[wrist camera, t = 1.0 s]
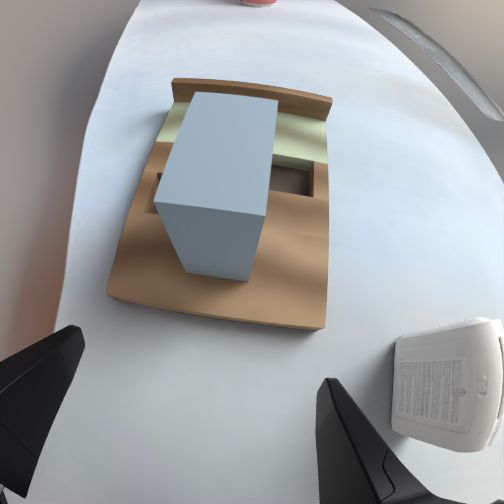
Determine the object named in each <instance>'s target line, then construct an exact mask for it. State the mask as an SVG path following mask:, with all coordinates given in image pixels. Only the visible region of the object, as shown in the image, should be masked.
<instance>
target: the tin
mask: <svg viewBox="0 0 504 504" xmlns="http://www.w3.org/2000/svg"><path fill="white" fill-rule="evenodd" d="M277 108H278V101H277V100H271V99H264V98H257V97H249V96H241V95H232V94H221V93H208V92H195V94H194V96H193V99H192V101H191V103H190V105H189V108H188V110H187V112H186V115H185V117H184V119H183V122H182V124H181V127H180V129H179V132H178V134H177V137H176V139H175V142H174V144H173V147H172V150H171V152H170V155H169V158H168V160H167V163H166V166H165V169H164V171H163V174H162V177H161V180H160V183H159V186H158V189H157V192H156V195H155V198H154V201H153V202H154V204H155V206H156V208H157V211H158V213H159V215H160V218H161V220H162V222H163V224H164V226H165V229H166V231H167V233H168V235H169V237H170V240H171V242H172V244H173V246H174V248H175V250H176V252H177V255H178V257H179V259H180V261H181V263H182V265H183V267H184V269H185V271H186V272H187V273H193V274H199V275H206V276H213V277H219V278H226V279H233V280H240V281H247V282H248V281H249V277H250V273H251V269H252V266H253V262H254V258H255V254H256V250H257V246H258V243H259V239H260V235H261V231H262V227H263V224H264V220H265V216H266V207H267V198H268V190H269V181H270V172H271V163H272V154H273V145H274V136H275V126H276V117H277Z"/></svg>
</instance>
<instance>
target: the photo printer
mask: <svg viewBox="0 0 504 504" xmlns="http://www.w3.org/2000/svg"><path fill="white" fill-rule="evenodd" d="M503 416H504V330H503V327H502V324H501V322H500V320H499V319H497V320H493V321H492V320H490V319H487V318H482V317H478V318H472V319H469V320H465V321H461V322H457V323H452V324H448V325H443V326H439V327H434V328H429V329H425V330H420V331H415V332H410V333H406V334H404V335H403V336H401V337H400V338H399V339H397V341H396V346H395V357H394V382H393V399H392V417H391V425H392V430H393V431H394V432H397V433H400V434H402V435H405V436H408V437H411V438H414V439H417V440H420V441H423V442H426V443H429V444H432V445H435V446H439V447H442V448H445V449H449V450H452V451H456V452H476V451H481V450H483V449H484V448H485V447H486V446H488V445H491V444H492V442H493V440H494V438H495V436H496V434H497V432H498V430H499V427H500V425H501V422H502V419H503Z"/></svg>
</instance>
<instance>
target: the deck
mask: <svg viewBox="0 0 504 504" xmlns="http://www.w3.org/2000/svg"><path fill="white" fill-rule="evenodd" d="M171 84H172V91H173V98H174V103H173V105H172V107H171V109H170V111H169V113H168V115H167V117H166V120H165V122H164V124H163V126H162V128H161V130H160V133H159V135H158V137H157V139H156V142H155V144H154V146H153V149H152V151H151V154H150V156H149V158H148V161H147V163H146V166H145V168H144V171H143V174H142V176H141V179H140V181H139V184H138V187H137V190H136V192H135V195H134V198H133V201H132V204H131V207H130V210H129V213H128V216H127V219H126V222H125V225H124V228H123V231H122V235H121V238H120V241H119V245H118V248H117V252H116V256H115V259H114V263H113V267H112V271H111V275H110V279H109V283H108V287H107V291H106V295H108V296H110V297H112V298H114V299H116V300H121V301H125V302H130V303H135V304H140V305H145V306H149V307H155V308H160V309H165V310H170V311H176V312H181V313H187V314H193V315H199V316H205V317H211V318H218V319H224V320H231V321H238V322H246V323H253V324H261V325H270V326H278V327H287V328H297V329H308V330H320V329H323V328H325V318H326V302H327V283H328V254H329V183H328V155H327V136H326V119H327V116H328V114H329V111H330V108H331V106H332V98H330V97H326V96H322V95H317V94H313V93H308V92H303V91H298V90H293V89H288V88H282V87H276V86H269V85H262V84H255V83H247V82H237V81H227V80H214V79H195V78H174V79H173V81H172V82H171ZM195 92H208V93H221V94H232V95H241V96H249V97H257V98H264V99H271V100H277V101H278V108H277V117H276V126H275V136H274V145H273V154H272V163H271V172H270V181H269V190H268V198H267V207H266V216H265V220H264V224H263V227H262V231H261V235H260V239H259V243H258V246H257V250H256V254H255V258H254V262H253V266H252V269H251V273H250V277H249V281H248V282H247V281H240V280H233V279H226V278H219V277H213V276H206V275H199V274H193V273H187V272H186V271H185V269H184V267H183V265H182V263H181V261H180V259H179V257H178V255H177V252H176V250H175V248H174V246H173V244H172V242H171V240H170V237H169V235H168V233H167V231H166V229H165V226H164V224H163V222H162V220H161V218H160V215H159V213H158V211H157V208H156V206H155V204H154V202H153V201H154V198H155V195H156V192H157V189H158V186H159V183H160V180H161V177H162V174H163V171H164V169H165V166H166V163H167V160H168V158H169V155H170V152H171V150H172V147H173V144H174V142H175V139H176V137H177V134H178V132H179V129H180V127H181V124H182V122H183V119H184V117H185V115H186V112H187V110H188V108H189V105H190V103H191V101H192V99H193V96H194V94H195Z"/></svg>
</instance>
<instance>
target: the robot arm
mask: <svg viewBox="0 0 504 504" xmlns="http://www.w3.org/2000/svg"><path fill="white" fill-rule="evenodd" d="M84 348H85V341H84V337H83V334H82V330H81V328H80V327H78V326H75V325H69V326H67V327H65V328H63V329H61V330H59V331H57V332H55V333H54V334H52V335H50V336H48V337H46V338H44V339H42V340H40V341H38V342H36V343H35V344H33V345H31V346H29V347H27V348H25V349H23V350H21V351H20V352H18V353H16V354H14V355H12V356H10V357H8V358H6V359H5V360H3V361H1V362H0V504H8V503H7V500H6V497H5V495H4V492H3V489H4V487H6V488H8V489H9V490H11V491H12V492H14V493H16V494H18V495H19V496H21V497H23V498H26V496H27V493H28V489H29V486H30V483H31V480H32V477H33V474H34V471H35V468H36V465H37V462H38V459H39V456H40V454H41V451H42V448H43V446H44V443H45V441H46V438H47V436H48V433H49V431H50V429H51V426H52V424H53V421H54V419H55V417H56V415H57V412H58V410H59V408H60V406H61V403H62V401H63V399H64V397H65V395H66V393H67V391H68V388H69V386H70V384H71V382H72V380H73V377H74V375H75V372H76V369H77V367H78V364H79V361H80V359H81V356H82V354H83V351H84ZM315 433H316V448H317V462H318V478H319V498H320V504H465V503H460V502H456V501H452V500H448V499H444V498H440V497H438V496H436V495H434V494H432V493H431V492H430V491H429V490H427V489H426V488H425V487H424V486H423V485H422V484H421V483H420V482H419V481H418V480H417V479H416V478H415V477H414V476H413V475H412V474H411V473H410V471H409V470H408V469H407V468H406V467H405V466H404V465H403V464H402V463H401V462H400V460H399V459H398V458H397V457H396V455H395V454H394V453H393V452H392V450H391V449H390V448H389V447H388V445H387V444H386V443H385V441H384V440H383V439H382V437H381V436H380V435H379V433H378V432H377V431H376V429H375V428H374V427H373V425H372V424H371V423H370V422H369V420H368V419H367V418H366V416H365V415H364V414H363V412H362V411H361V410H360V408H359V407H358V406H357V404H356V403H355V402H354V400H353V399H352V398H351V396H350V395H349V394H348V392H347V391H346V390H345V388H344V387H343V386H342V384H341V383H340V382H339V380H338V379H336V378H325V379H324V381H323V383H322V385H321V386H320V388H319V390H318V392H317V404H316V431H315ZM491 504H504V501H503V500H500V499H499V500H496V501H495V502H493V503H491Z"/></svg>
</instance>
